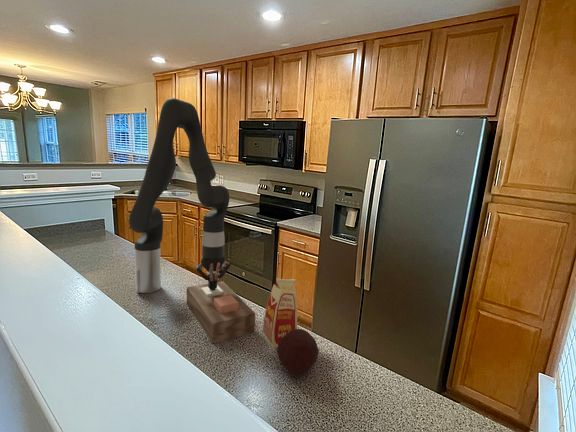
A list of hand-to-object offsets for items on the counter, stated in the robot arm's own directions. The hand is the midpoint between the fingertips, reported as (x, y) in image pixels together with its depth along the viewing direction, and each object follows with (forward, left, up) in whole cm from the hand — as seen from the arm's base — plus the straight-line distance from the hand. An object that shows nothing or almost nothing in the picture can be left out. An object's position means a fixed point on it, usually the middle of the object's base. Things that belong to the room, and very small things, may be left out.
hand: (212, 289), depth 112 cm
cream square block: (0, 0, -4) cm, 4 cm away
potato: (+9, -41, -8) cm, 43 cm away
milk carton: (+13, -26, -8) cm, 30 cm away
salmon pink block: (0, -13, -2) cm, 13 cm away
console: (0, -6, -7) cm, 10 cm away
